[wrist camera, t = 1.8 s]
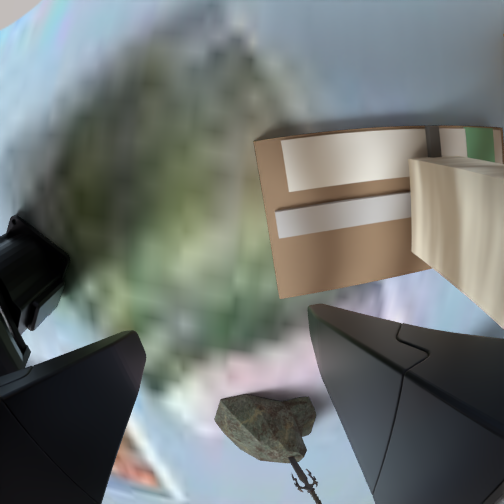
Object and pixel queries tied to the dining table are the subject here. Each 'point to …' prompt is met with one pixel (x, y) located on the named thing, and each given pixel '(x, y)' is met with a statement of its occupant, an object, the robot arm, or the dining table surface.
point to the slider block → (460, 222)
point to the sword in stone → (270, 430)
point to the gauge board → (350, 201)
